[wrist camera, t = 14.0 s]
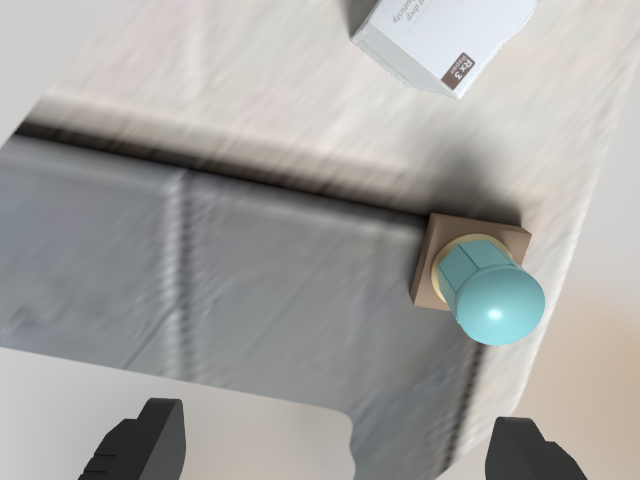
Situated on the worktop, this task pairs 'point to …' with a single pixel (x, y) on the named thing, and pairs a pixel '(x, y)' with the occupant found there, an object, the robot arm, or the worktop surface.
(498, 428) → the robot arm
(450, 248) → the board
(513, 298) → the cap
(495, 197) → the worktop surface
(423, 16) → the skincare box
